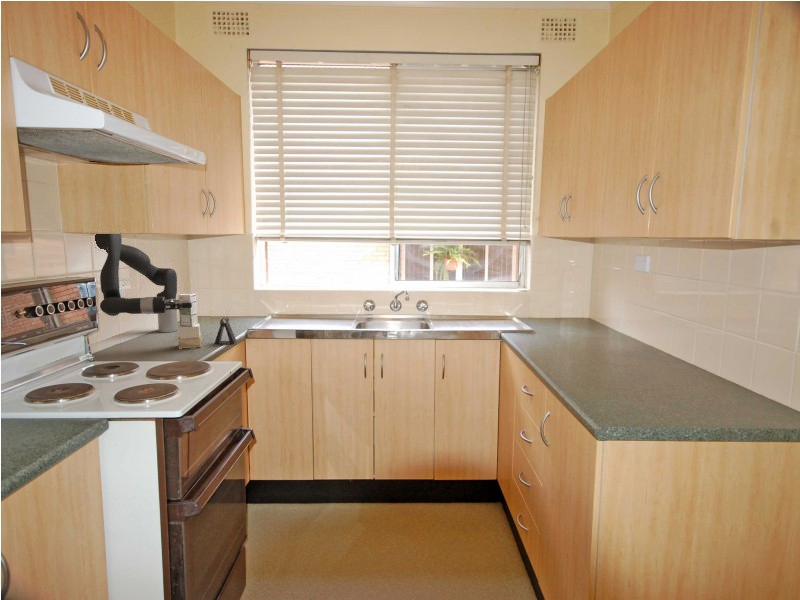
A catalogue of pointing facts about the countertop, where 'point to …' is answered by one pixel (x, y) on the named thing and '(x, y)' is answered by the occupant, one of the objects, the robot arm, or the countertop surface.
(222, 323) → the dark grey triangular frame
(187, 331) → the tower top block
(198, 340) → the tower base block
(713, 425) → the countertop surface
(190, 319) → the syrup box
